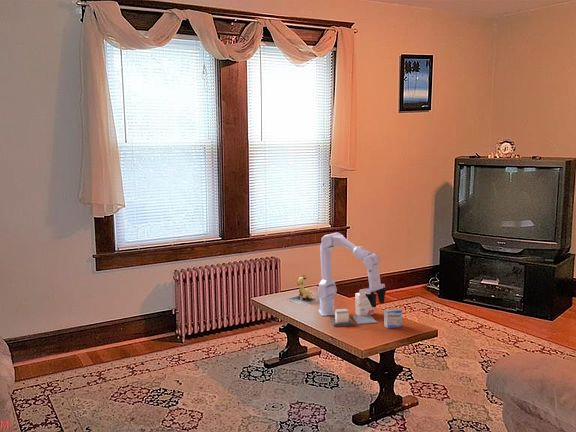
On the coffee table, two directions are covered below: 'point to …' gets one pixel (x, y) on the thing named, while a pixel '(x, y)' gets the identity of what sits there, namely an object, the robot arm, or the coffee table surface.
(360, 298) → the ink cartridge box
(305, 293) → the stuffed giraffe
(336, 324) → the holder
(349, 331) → the coffee table surface
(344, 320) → the plug
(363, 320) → the slate board
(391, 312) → the medicine box
